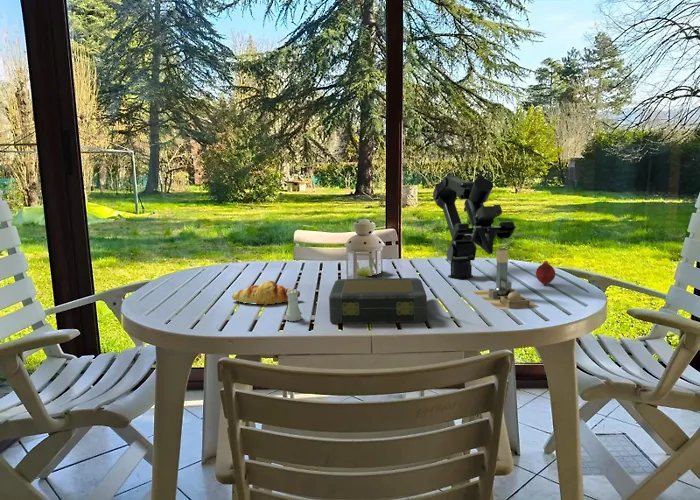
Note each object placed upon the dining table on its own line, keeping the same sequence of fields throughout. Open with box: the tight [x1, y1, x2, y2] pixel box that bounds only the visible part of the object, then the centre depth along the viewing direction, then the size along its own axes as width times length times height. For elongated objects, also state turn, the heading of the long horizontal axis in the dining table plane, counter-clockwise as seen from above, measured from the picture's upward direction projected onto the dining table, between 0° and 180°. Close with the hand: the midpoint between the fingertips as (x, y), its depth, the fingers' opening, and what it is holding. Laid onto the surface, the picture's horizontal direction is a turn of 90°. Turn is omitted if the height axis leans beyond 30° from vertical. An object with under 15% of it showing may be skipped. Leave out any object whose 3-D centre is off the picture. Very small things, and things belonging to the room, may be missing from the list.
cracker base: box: [471, 287, 540, 310], centre depth 137 cm, size 20×11×4 cm, turn 8°
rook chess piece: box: [285, 288, 303, 322], centre depth 128 cm, size 4×4×8 cm
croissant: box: [231, 280, 301, 306], centre depth 146 cm, size 21×10×8 cm, turn 87°
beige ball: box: [508, 291, 523, 301], centre depth 130 cm, size 4×4×4 cm
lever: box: [494, 247, 512, 297], centre depth 135 cm, size 5×3×14 cm, turn 8°
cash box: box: [328, 277, 428, 324], centre depth 132 cm, size 25×20×8 cm
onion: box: [535, 260, 556, 286], centre depth 156 cm, size 6×6×8 cm
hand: (490, 253), depth 144 cm, fingers closed
